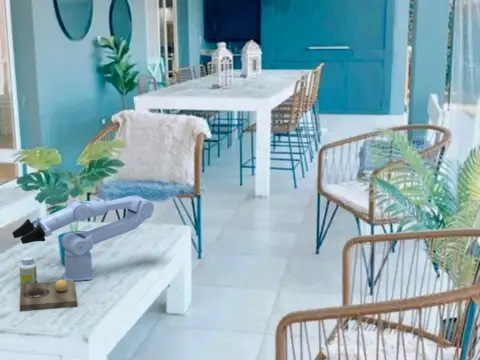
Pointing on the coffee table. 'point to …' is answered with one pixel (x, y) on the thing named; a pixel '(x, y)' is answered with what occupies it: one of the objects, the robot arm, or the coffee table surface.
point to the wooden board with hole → (46, 296)
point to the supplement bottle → (28, 270)
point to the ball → (61, 285)
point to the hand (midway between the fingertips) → (17, 238)
